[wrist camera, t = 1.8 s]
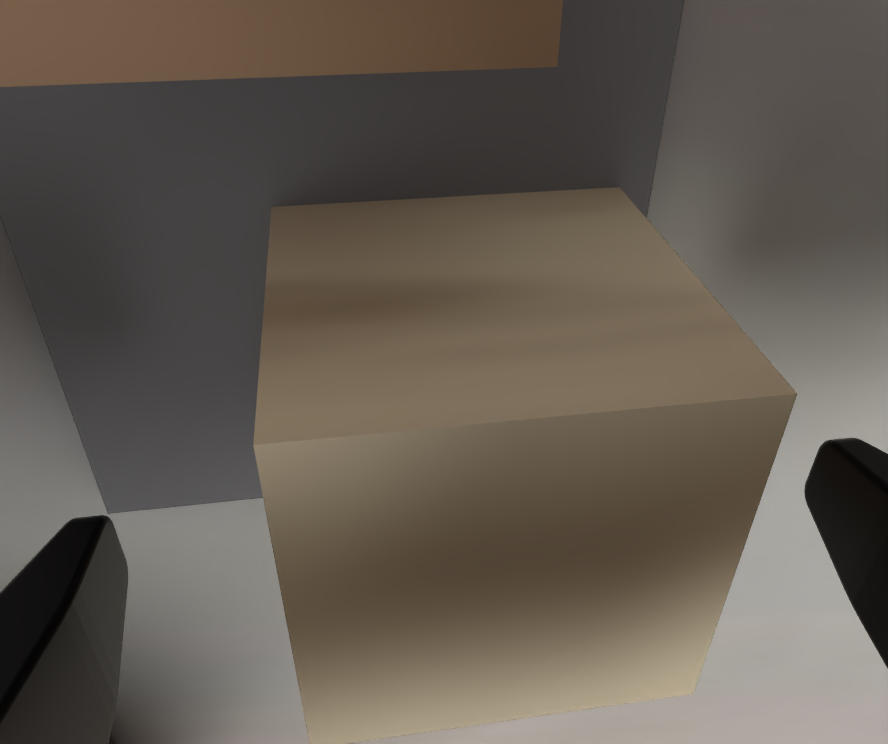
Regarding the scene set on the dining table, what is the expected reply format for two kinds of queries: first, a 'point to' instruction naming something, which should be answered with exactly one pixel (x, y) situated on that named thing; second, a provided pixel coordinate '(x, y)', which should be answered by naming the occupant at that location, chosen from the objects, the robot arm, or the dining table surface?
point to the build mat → (249, 212)
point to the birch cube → (500, 457)
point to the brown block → (267, 38)
